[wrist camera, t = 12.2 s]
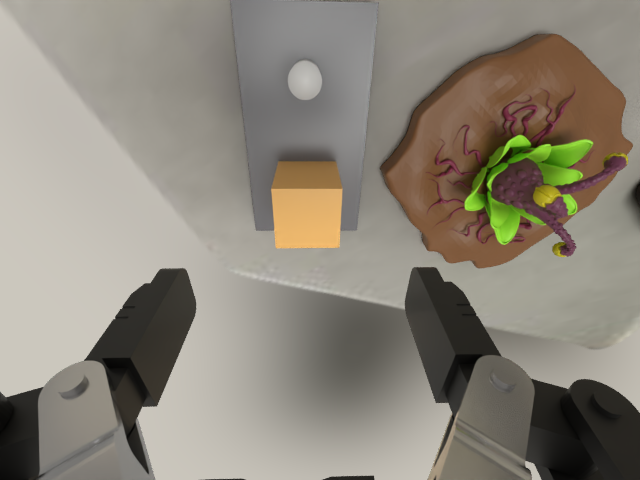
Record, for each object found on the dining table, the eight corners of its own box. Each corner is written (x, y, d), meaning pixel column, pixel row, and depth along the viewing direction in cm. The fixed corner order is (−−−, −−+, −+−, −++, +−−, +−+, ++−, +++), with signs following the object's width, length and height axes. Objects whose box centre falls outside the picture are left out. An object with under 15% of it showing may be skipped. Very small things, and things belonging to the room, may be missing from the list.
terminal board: (235, 2, 22) (214, -11, 17) (373, 5, 22) (392, -6, 17) (258, 220, 32) (249, 253, 27) (354, 220, 32) (362, 253, 27)
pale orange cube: (278, 161, 26) (271, 188, 21) (336, 161, 27) (342, 188, 21) (281, 212, 29) (275, 248, 24) (333, 212, 29) (339, 247, 24)
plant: (539, -24, 22) (711, -74, 13) (637, 151, 29) (793, 201, 20) (348, 178, 30) (366, 240, 20) (463, 276, 37) (516, 354, 28)
